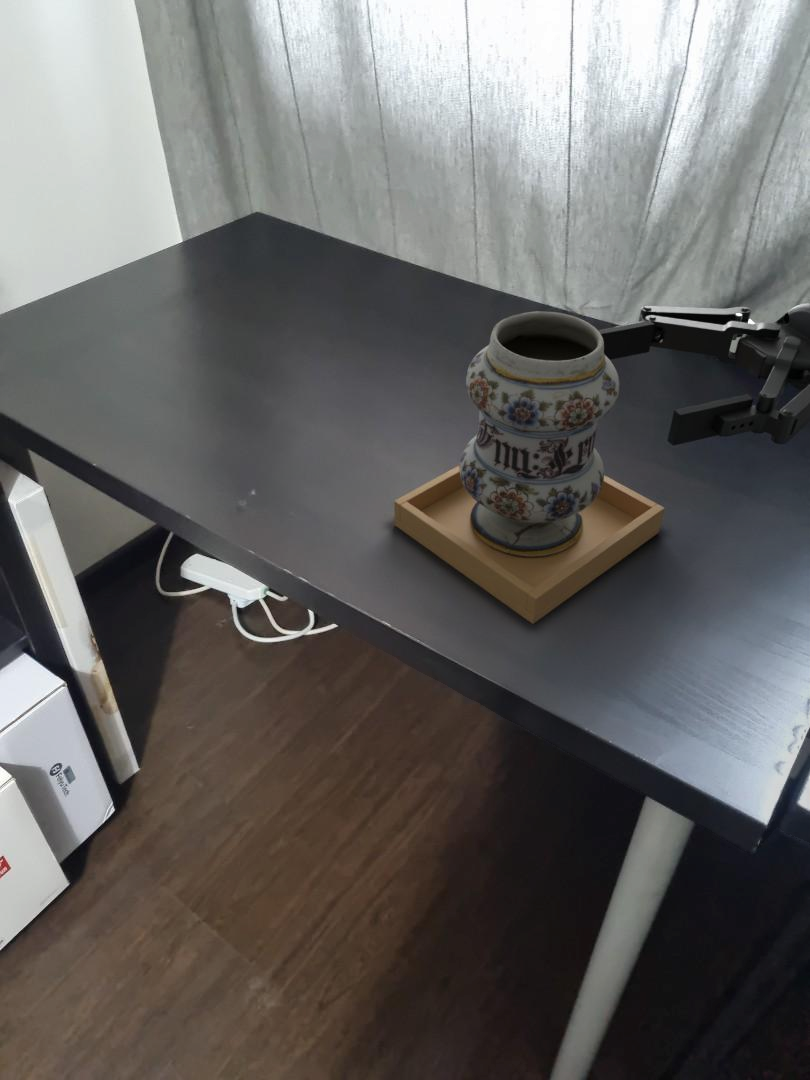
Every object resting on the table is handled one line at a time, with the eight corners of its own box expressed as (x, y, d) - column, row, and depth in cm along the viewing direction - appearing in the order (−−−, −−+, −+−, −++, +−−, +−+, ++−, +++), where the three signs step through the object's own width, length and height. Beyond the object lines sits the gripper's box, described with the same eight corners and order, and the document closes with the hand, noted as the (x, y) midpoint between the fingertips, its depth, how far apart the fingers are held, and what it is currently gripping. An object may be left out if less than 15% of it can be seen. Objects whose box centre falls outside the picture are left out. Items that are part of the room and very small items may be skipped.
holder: (659, 532, 73) (664, 507, 71) (532, 624, 65) (535, 599, 63) (519, 454, 83) (522, 430, 81) (394, 525, 74) (393, 500, 73)
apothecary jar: (622, 545, 71) (661, 354, 59) (495, 582, 67) (510, 388, 56) (552, 469, 79) (574, 289, 68) (436, 499, 76) (438, 315, 64)
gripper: (934, 452, 66) (707, 510, 61) (738, 322, 84) (550, 358, 79) (974, 367, 61) (732, 423, 56) (757, 249, 79) (558, 282, 74)
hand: (625, 385), depth 67 cm, fingers open, 13 cm apart
